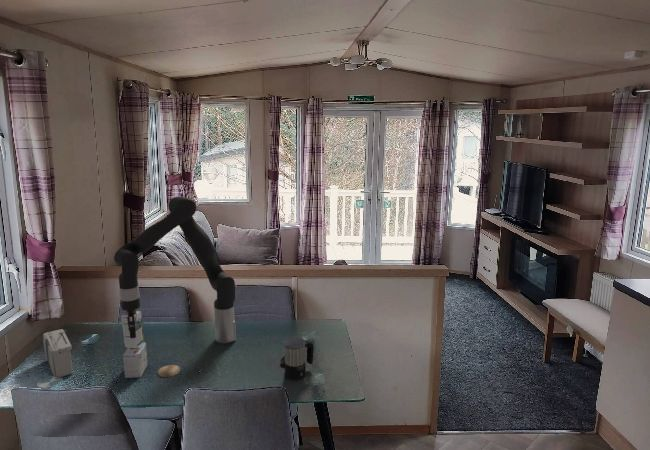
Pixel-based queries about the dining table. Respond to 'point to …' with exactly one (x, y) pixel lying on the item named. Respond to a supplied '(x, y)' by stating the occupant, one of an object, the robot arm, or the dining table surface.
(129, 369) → the light bulb box
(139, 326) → the syrup box
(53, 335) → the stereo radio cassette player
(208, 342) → the dining table surface
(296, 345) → the milk frother
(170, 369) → the cork coaster
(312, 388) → the dining table surface
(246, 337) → the dining table surface
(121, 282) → the robot arm
